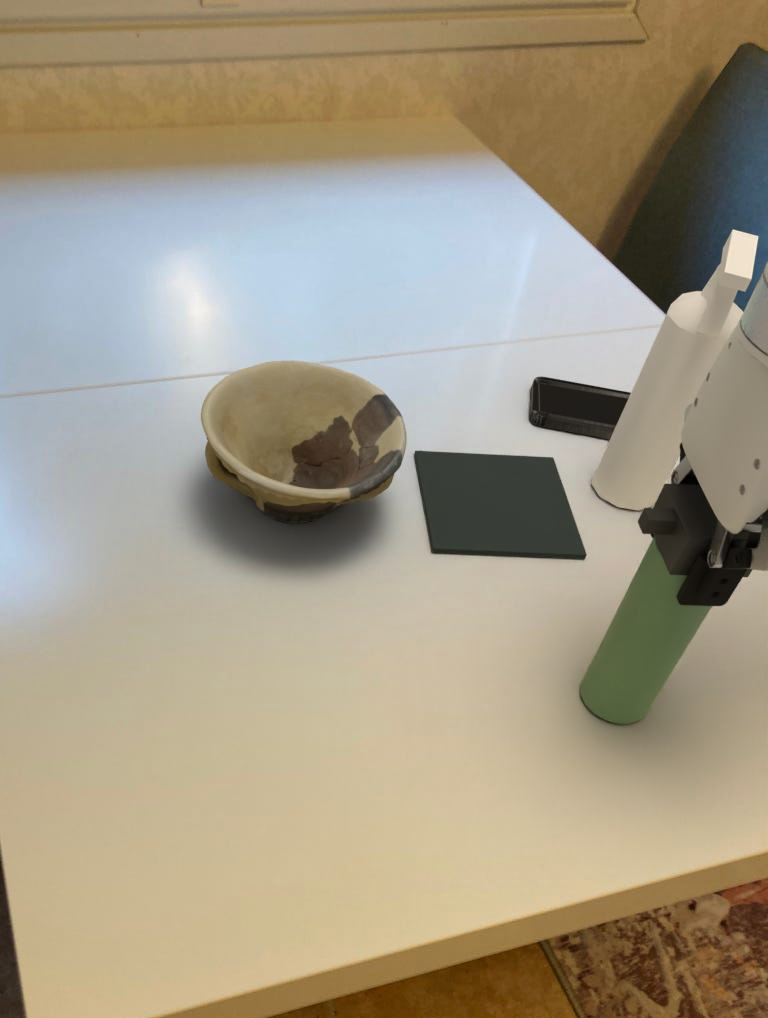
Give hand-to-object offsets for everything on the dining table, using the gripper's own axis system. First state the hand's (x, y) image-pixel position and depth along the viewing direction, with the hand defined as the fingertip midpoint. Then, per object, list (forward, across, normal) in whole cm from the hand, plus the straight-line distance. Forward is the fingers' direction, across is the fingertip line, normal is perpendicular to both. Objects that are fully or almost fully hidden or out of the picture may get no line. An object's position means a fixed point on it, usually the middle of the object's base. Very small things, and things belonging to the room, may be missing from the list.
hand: (685, 566), depth 62 cm
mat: (+15, +23, +5) cm, 28 cm away
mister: (+14, 0, 0) cm, 14 cm away
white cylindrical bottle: (+15, +27, -9) cm, 32 cm away
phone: (+15, +38, -9) cm, 42 cm away
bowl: (+15, +22, +24) cm, 36 cm away
